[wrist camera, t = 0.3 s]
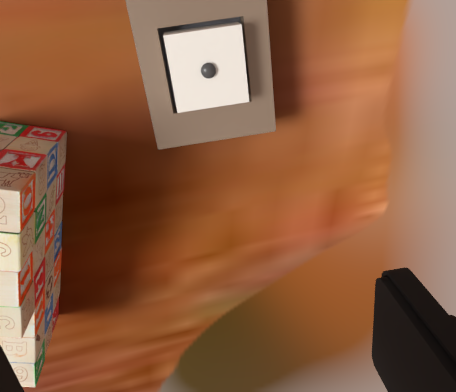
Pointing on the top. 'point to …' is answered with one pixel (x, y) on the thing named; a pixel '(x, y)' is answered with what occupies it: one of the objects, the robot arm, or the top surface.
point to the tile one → (207, 66)
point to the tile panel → (161, 79)
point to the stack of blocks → (30, 243)
